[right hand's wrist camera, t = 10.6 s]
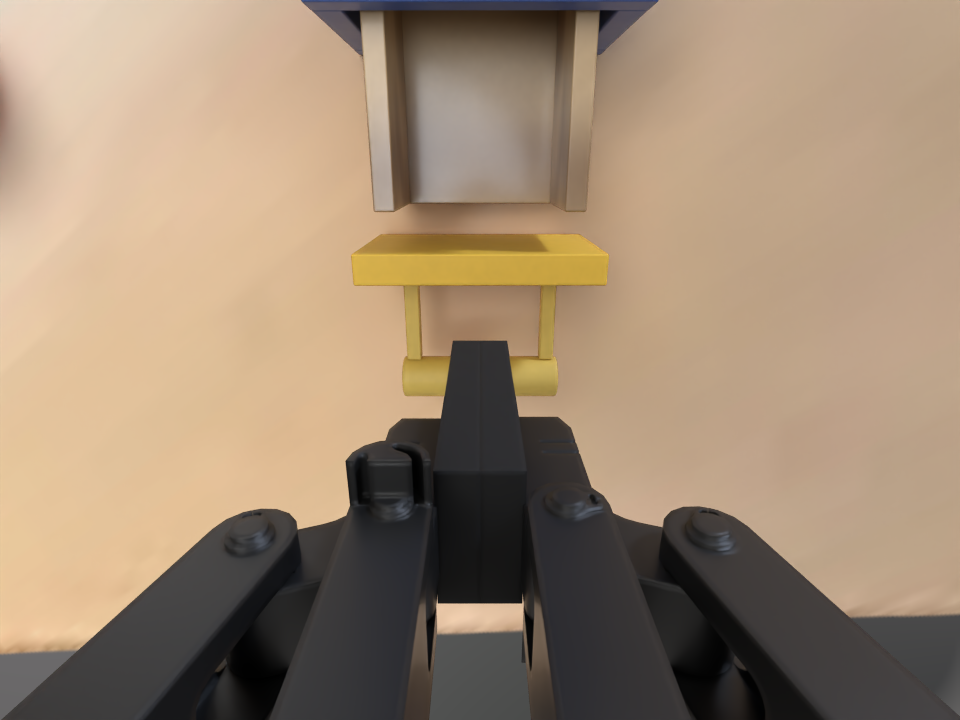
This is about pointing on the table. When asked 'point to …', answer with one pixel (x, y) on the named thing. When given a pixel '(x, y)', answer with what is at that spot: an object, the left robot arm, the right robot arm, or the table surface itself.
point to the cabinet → (342, 5)
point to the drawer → (479, 159)
